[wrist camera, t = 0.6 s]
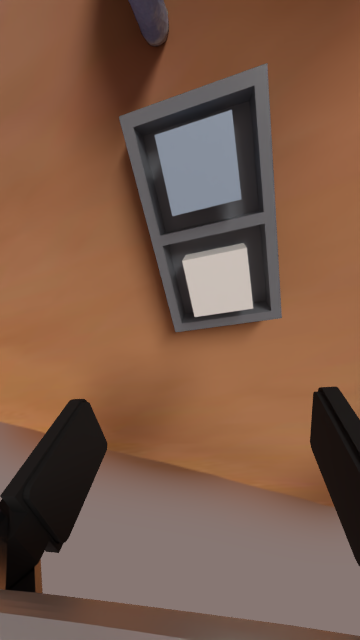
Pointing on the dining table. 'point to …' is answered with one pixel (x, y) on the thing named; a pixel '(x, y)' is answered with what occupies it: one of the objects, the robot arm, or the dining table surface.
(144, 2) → the dark blue boxy piece
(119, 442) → the dining table surface
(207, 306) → the white key
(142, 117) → the key panel
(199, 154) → the blue key
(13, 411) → the dining table surface
